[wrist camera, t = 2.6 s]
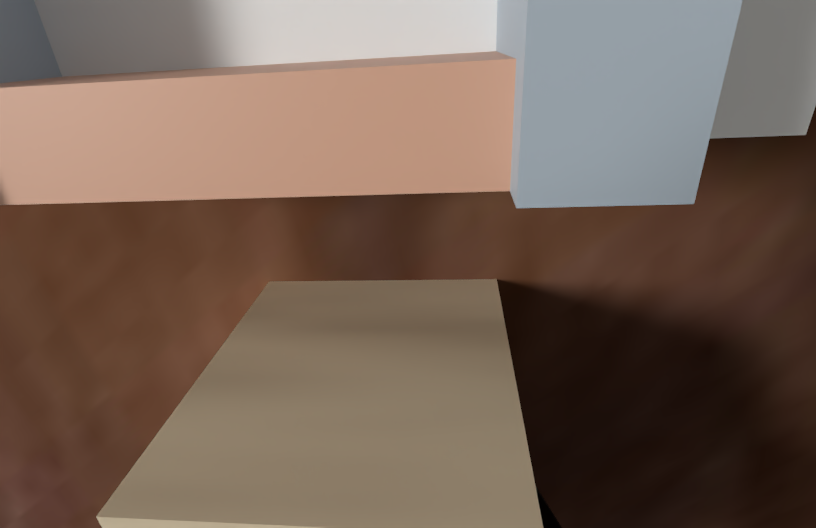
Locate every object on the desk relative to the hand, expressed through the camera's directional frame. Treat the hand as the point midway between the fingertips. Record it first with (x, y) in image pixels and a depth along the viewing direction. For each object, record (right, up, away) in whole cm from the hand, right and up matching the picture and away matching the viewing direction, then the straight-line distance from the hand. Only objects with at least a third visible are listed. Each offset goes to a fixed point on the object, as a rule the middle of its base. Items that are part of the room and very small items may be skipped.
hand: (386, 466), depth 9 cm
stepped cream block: (0, 0, +1) cm, 1 cm away
